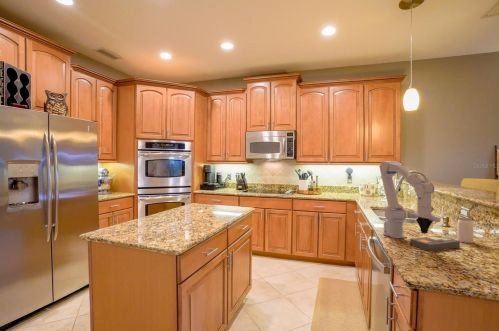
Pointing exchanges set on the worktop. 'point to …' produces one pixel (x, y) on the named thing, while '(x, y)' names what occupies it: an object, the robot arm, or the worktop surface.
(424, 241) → the terracotta key
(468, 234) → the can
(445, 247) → the keypad
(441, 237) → the sage key
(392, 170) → the robot arm
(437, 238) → the cream key
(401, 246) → the worktop surface
